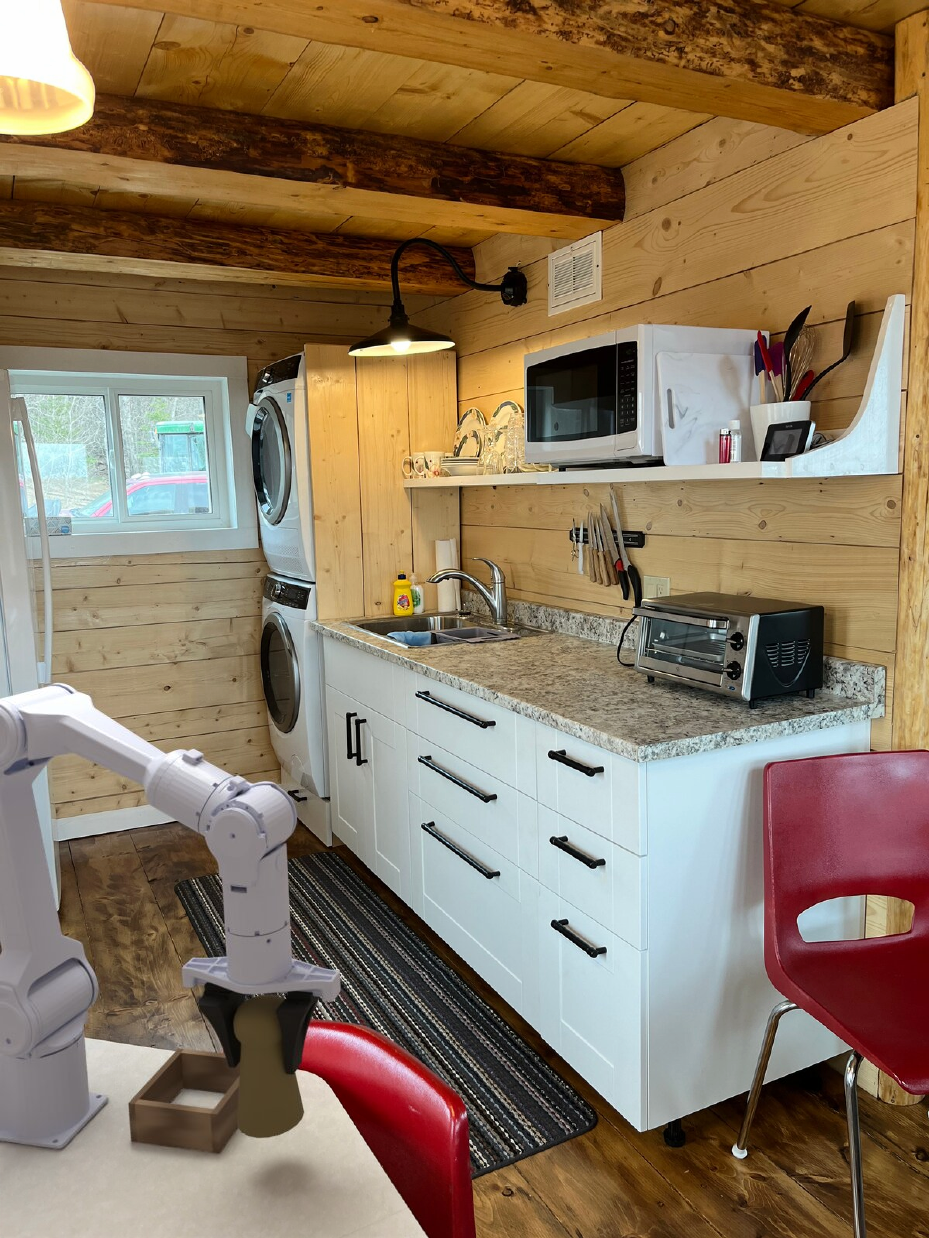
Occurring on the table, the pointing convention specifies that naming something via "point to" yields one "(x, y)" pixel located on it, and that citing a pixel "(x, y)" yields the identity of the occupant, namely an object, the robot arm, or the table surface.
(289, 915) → the robot arm
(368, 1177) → the table surface
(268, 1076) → the olive game pawn
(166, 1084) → the walnut stand
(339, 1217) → the table surface
